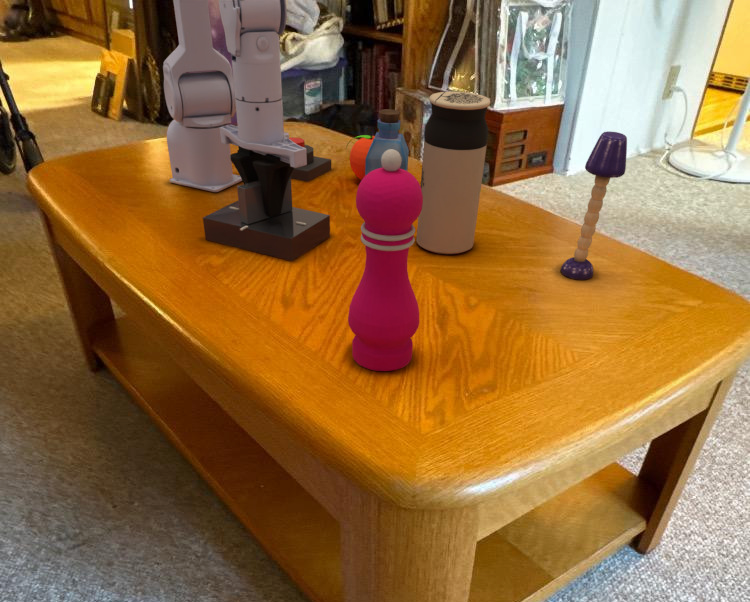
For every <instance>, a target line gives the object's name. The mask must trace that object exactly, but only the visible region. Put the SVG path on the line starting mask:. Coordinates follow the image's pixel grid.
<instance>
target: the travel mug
mask: <svg viewBox="0 0 750 602" xmlns="http://www.w3.org/2000/svg"><path fill="white" fill-rule="evenodd" d="M429 102H430V105H431V114H430V116H429V118H428V120H427V122H426V123H425V126H424V138H423V150H422V163H421V164H422V165H421V174H420V175H421V177H420V186H421V190H422V194H423V205H422V210H421V213H420V215H419V216H418V218H417V227H416V241H415V242H416V243H417V244H418V246H420V247H421V248H423V249H424V250H426V251H428V252H432V253H434V254H440V255H458V254H461V253H465V252H467V251H469V250H471V249H472V248H473V247H474V242H475V235H476V227H477V220H478V214H479V213H478V212H479V207H480V198H481V190H482V184H483V176H484V168H485V161H486V154H487V145H488V140H489V139H488V138H489V131H490V130H489V127H488V124H487V121H486V115H487V111H488V108H489V106H490V105H491V99H490V98H489V97H487V96H485V95H482V94H478V93H474V92H467V91H440V92H435V93H432V94H431V95H430V96H429Z"/></svg>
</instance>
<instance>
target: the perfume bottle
mask: <svg viewBox="0 0 750 602" xmlns="http://www.w3.org/2000/svg"><path fill="white" fill-rule="evenodd" d="M378 113H379V119H377V129H378V131H376V133H375V135H374V136H375V137H374V139H373V142H372V144H371V146H370V148H369V151H368V154H367V156H366V166H365V176H366V175H367V174H368V173H369V172H371V171H373V170H375V169H378V168H382V167H383V166H382V164H381V158H382V155H383V154H384V152H385V151H387V150H389V149H394V150H396V151H398V152H399V154H400V156H401V160H402V162H401V166H400V167H399V168H400V169H403V170H406V171H407V172H408V169H409V153H410V151H409V147H408V144H407V142H406V139H405V137H404V134H403V133H399V131H400V130H401V120H400V115H401V112H400V110H397V109H389V108H388V109H387V108H385V109H384V108H383V109H380V110H379V111H378Z"/></svg>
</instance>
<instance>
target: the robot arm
mask: <svg viewBox="0 0 750 602" xmlns="http://www.w3.org/2000/svg"><path fill="white" fill-rule="evenodd" d="M172 2H173V7H174V8H173V9H174V15H175V16H174V17H175V22H176V23H175V24H176V30H177V37H178V45H177V47H176V48H175V49H174V50H173V51H172V52H171V53H170V54H169V55H168V56H167V57H166V59H164V61H163V65H162V71H163V92H164V99H165V103H166V107H167V111H168V113H169V115H170V118H172V120H171V121H170V123H169V125H168V127H167V132H166V145H167V150H168V151H167V152H168V158H169V162H170V163H169V164H170V168H171V169H170V170H171V176H172V177H171V178H169V183H171V184H175V185H179V186H184V187H189V188H193V189H198V190H203V191H207V192H212V193H219V192H221V191H223V190H226V189H227V188H230V187H232V186H234V185H236V184H238V183H240V182H242V184H247V183H250V182H254V181H258V180H259V181H260V184H261V188H262V193H263V201H264V208H265V212H266V215H267V216H268V217H272V216H276V215H279V214H281V210H282V205H283V199H284V194H285V190H286V187H287V183H288V181H289V178H290V176H291V174H292V172H293V170H294V168H297V167H301V166H305V165H307V154H306V148H304V147H301V146H299V145H297V144H296V143H294V142H293V141H291V140H290V139H289V138H290V133H289V132H287V131H285V128H284V127H285V126H284V108H283V106H284V105H283V87H282V69H281V68H282V67H281V48H280V47H281V46H280V36H281V35H282V34H283V33H284V32H285V29H286V25H287V17H288V16H287V15H288V14H287V13H288V12H287V0H218V8H219V15H220V19H221V24H222V26H223V30H224V36H225V37H224V38H225V46H226V50H227V52H228V53H230V57H231V63H230V62H229V59H227V58H226V56H224V55H223V54H222V53H220V52H219V51H218V50H217V49H215V48H214V47H213V46H214V45H213V36H212V35H213V34H212V27H211V19H210V8H209V0H172ZM235 115H236V122H237V125H233V124H231V123H232V118H234V116H235ZM231 145H234V146H236V147H238V149H237V152H234V153H231ZM233 166H234V167H235V169H236V171H237V173H238V174H239V175H238V174H234V172H233Z"/></svg>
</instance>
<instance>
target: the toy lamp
mask: <svg viewBox="0 0 750 602" xmlns="http://www.w3.org/2000/svg"><path fill="white" fill-rule="evenodd" d="M627 152H628V137H627V136H626V135H625V134H624V133H621V132H618V131H604V132H601V134H600V136H599V137H598V139H597V141H596V143H595V145H594V147H593V149H592V150H591V152H590V154H589V156H588V158H587V160H586V162H585V166H584V168H585V171H586V172H587V173H589V174H591V175H593V176H594V185H593V187H592V188H591V192H590V196H591V197H590V199H589V200H588V203H587V210H586V212H585V214H584V217H583V224H582V225H581V228H580V235H579V237H578V239H577V243H576V244H577V247H576V248H575V250H574V253H573V256H572V257H570V258H568V259H566V260H565V261H564V262H563V263H562V264H561V267H560V273H561V274H562V275H563V276H565V277H567V278H570V279H573V280H578V281H579V280H581V281H582V280H589V279H591V278H592V277H593V276H594V266H593V264H592V262H591V261H590V260H588V259H587V258H588V256H589V249H590V247H591V246H592V242H593V236H594V235H595V233H596V229H597V228H596V227H597V226H596V225H597V223H598V222H599V219H600V212H601V210H602V208H603V205H604V200H603V199H605V197H606V194H607V187H608V185H609V183H610V181H611V179H613V178H614V179H615V178H621V177H623V176H624V175H625V173H626V168H627Z"/></svg>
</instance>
